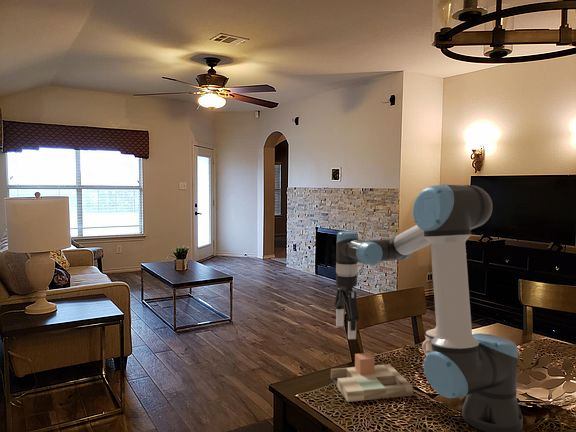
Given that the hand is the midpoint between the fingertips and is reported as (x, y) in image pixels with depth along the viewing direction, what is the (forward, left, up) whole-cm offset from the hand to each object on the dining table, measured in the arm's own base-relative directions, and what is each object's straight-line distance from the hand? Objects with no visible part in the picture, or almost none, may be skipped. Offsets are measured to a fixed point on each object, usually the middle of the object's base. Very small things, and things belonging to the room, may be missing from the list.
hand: (345, 332), depth 160 cm
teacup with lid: (-2, -35, -12) cm, 36 cm away
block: (-15, -2, -8) cm, 17 cm away
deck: (-20, -2, -11) cm, 23 cm away
